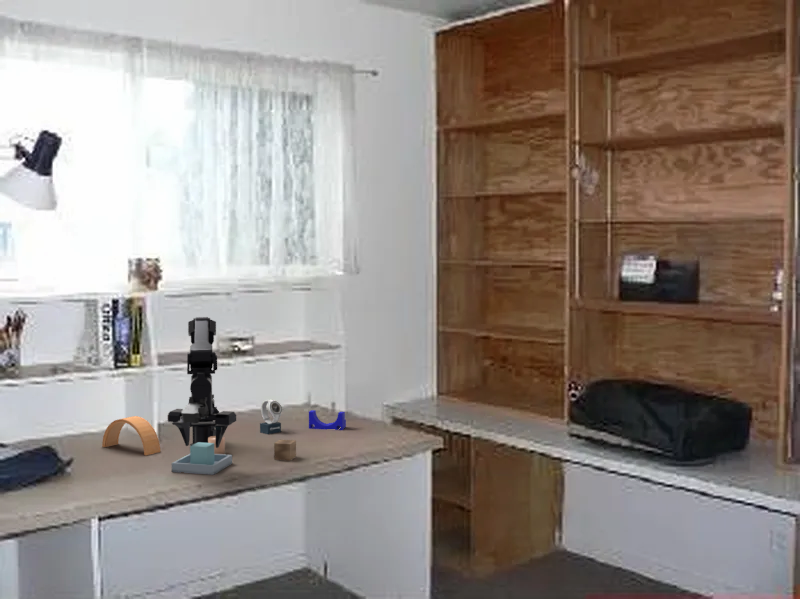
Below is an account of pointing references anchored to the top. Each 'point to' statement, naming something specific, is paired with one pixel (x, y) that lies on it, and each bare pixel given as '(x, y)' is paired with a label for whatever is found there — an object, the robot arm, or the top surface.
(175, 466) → the tray
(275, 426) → the watch
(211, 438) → the terracotta cylinder
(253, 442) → the top surface
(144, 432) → the arch
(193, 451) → the teal block
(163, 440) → the top surface
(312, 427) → the cable clip
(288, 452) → the walnut cube
